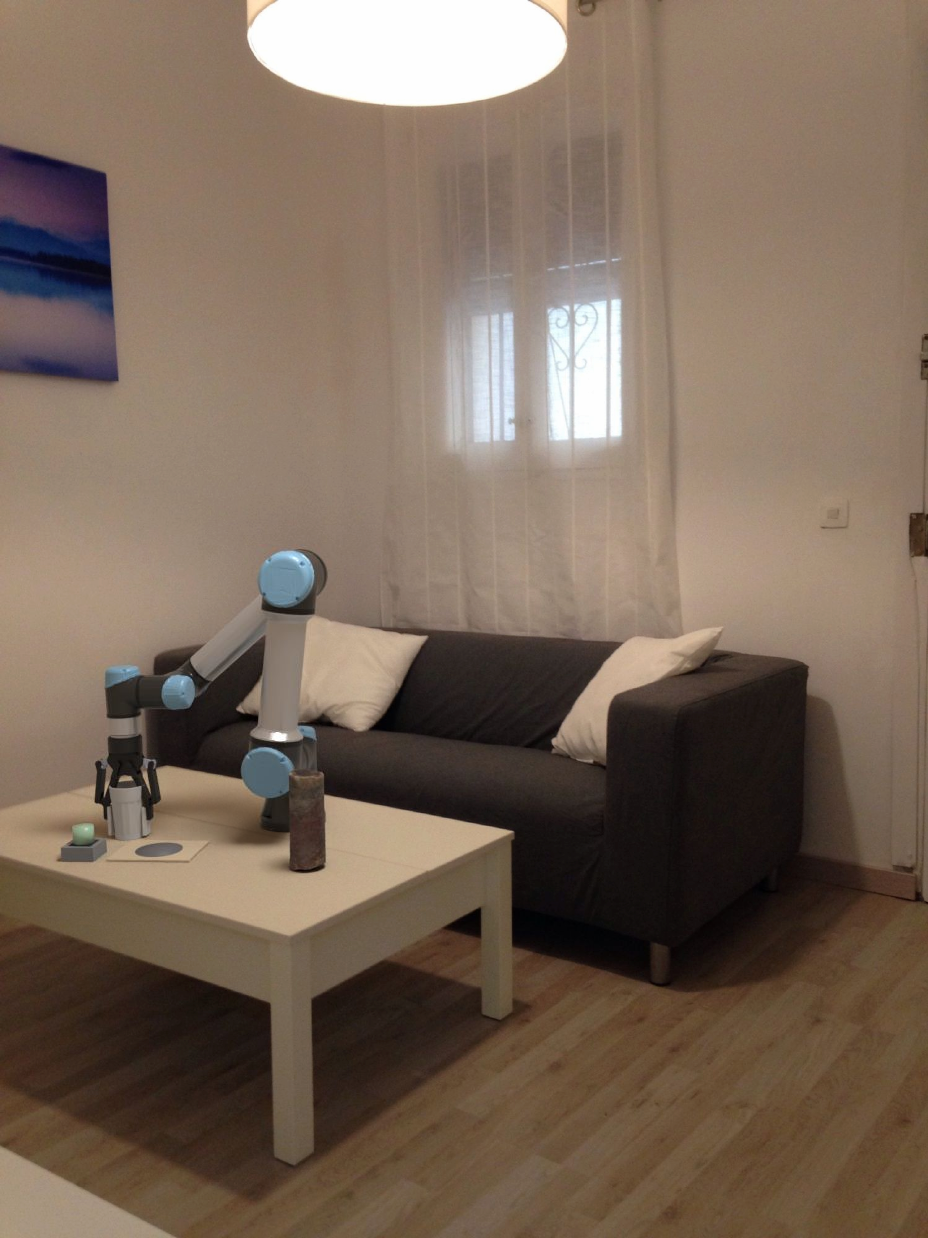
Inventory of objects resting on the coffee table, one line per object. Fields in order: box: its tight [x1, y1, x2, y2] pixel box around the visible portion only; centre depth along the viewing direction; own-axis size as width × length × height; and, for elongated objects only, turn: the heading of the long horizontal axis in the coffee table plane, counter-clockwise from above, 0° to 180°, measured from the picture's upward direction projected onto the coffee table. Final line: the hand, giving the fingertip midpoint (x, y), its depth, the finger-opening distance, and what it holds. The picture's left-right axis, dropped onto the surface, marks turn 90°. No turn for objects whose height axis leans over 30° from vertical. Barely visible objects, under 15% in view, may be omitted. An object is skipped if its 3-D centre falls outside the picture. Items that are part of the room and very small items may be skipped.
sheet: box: [105, 839, 211, 863], centre depth 242 cm, size 18×14×1 cm
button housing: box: [60, 837, 108, 863], centre depth 239 cm, size 7×7×3 cm
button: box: [71, 822, 95, 845], centre depth 239 cm, size 4×4×4 cm
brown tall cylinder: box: [289, 769, 327, 871], centre depth 229 cm, size 8×7×20 cm
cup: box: [109, 779, 145, 841], centre depth 253 cm, size 8×8×12 cm
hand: (129, 833), depth 254 cm, fingers closed on cup, 7 cm apart
